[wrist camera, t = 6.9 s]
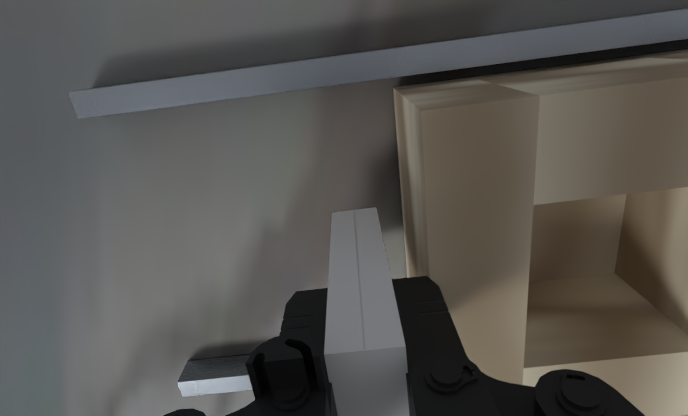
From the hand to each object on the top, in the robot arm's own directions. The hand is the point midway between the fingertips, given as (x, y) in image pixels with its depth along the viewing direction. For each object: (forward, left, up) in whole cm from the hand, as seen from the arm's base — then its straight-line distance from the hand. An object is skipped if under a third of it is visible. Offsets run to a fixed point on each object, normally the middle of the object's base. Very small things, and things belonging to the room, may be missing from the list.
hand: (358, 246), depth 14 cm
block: (+7, 0, -2) cm, 7 cm away
